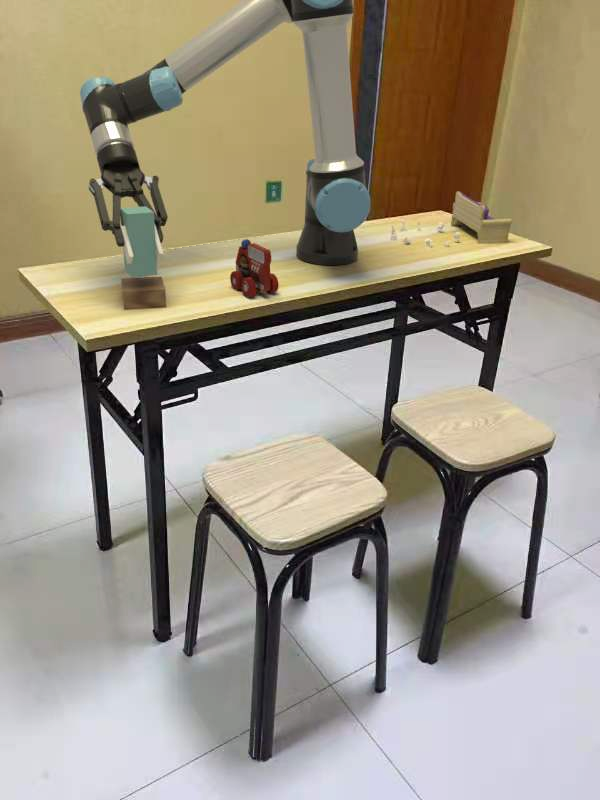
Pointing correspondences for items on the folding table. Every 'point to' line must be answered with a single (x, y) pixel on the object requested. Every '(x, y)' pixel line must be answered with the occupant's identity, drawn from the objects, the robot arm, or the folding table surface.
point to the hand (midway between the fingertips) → (145, 258)
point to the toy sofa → (479, 220)
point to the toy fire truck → (253, 270)
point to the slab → (143, 293)
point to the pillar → (140, 240)
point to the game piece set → (428, 240)
